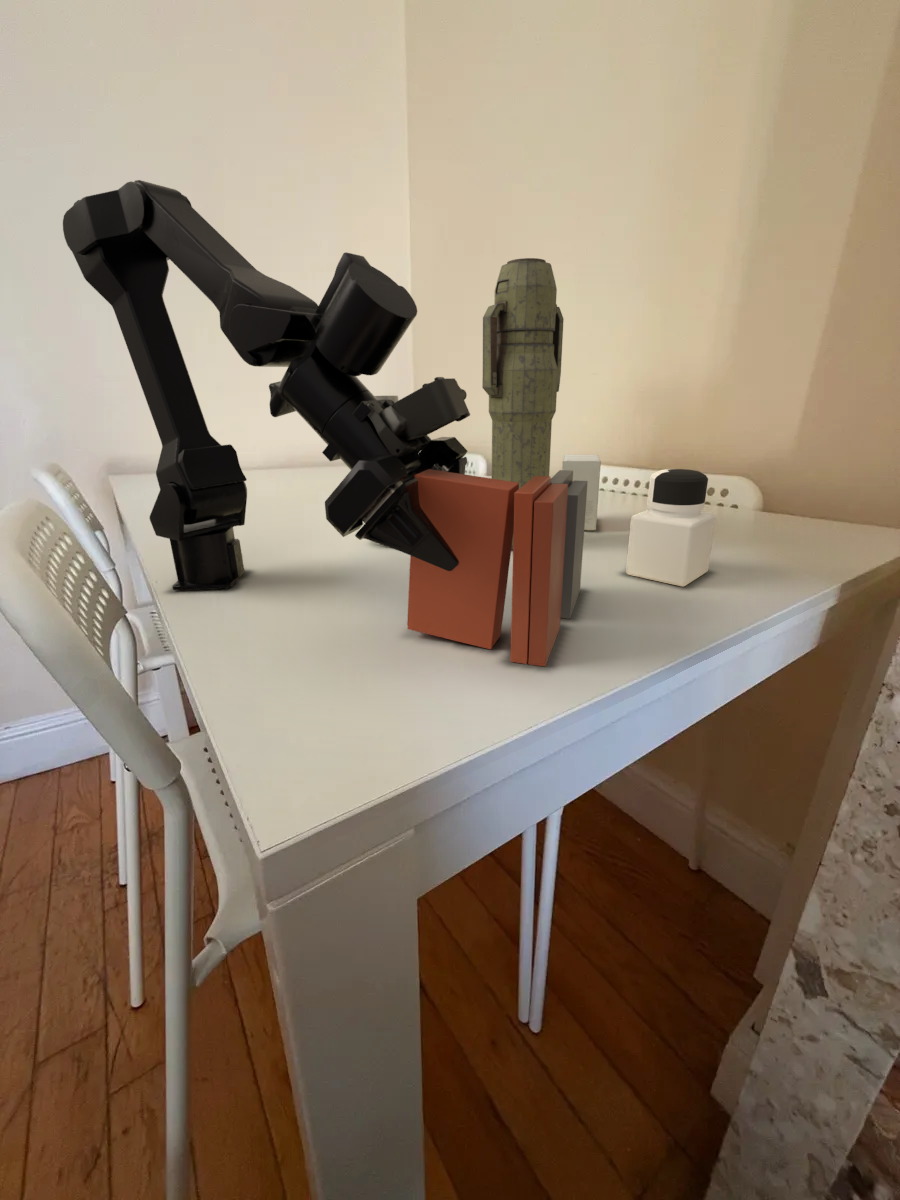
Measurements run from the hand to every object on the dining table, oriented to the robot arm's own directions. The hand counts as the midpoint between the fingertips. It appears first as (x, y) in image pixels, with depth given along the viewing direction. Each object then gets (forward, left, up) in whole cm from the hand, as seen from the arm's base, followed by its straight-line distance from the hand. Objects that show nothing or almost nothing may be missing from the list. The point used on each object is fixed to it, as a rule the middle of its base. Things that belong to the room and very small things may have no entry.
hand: (471, 551), depth 49 cm
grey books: (+10, +7, -8) cm, 15 cm away
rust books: (+5, -2, -8) cm, 10 cm away
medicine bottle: (+25, +15, -8) cm, 30 cm away
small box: (+21, +40, -8) cm, 46 cm away
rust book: (-2, 0, -8) cm, 8 cm away
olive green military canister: (+10, +31, -8) cm, 34 cm away
